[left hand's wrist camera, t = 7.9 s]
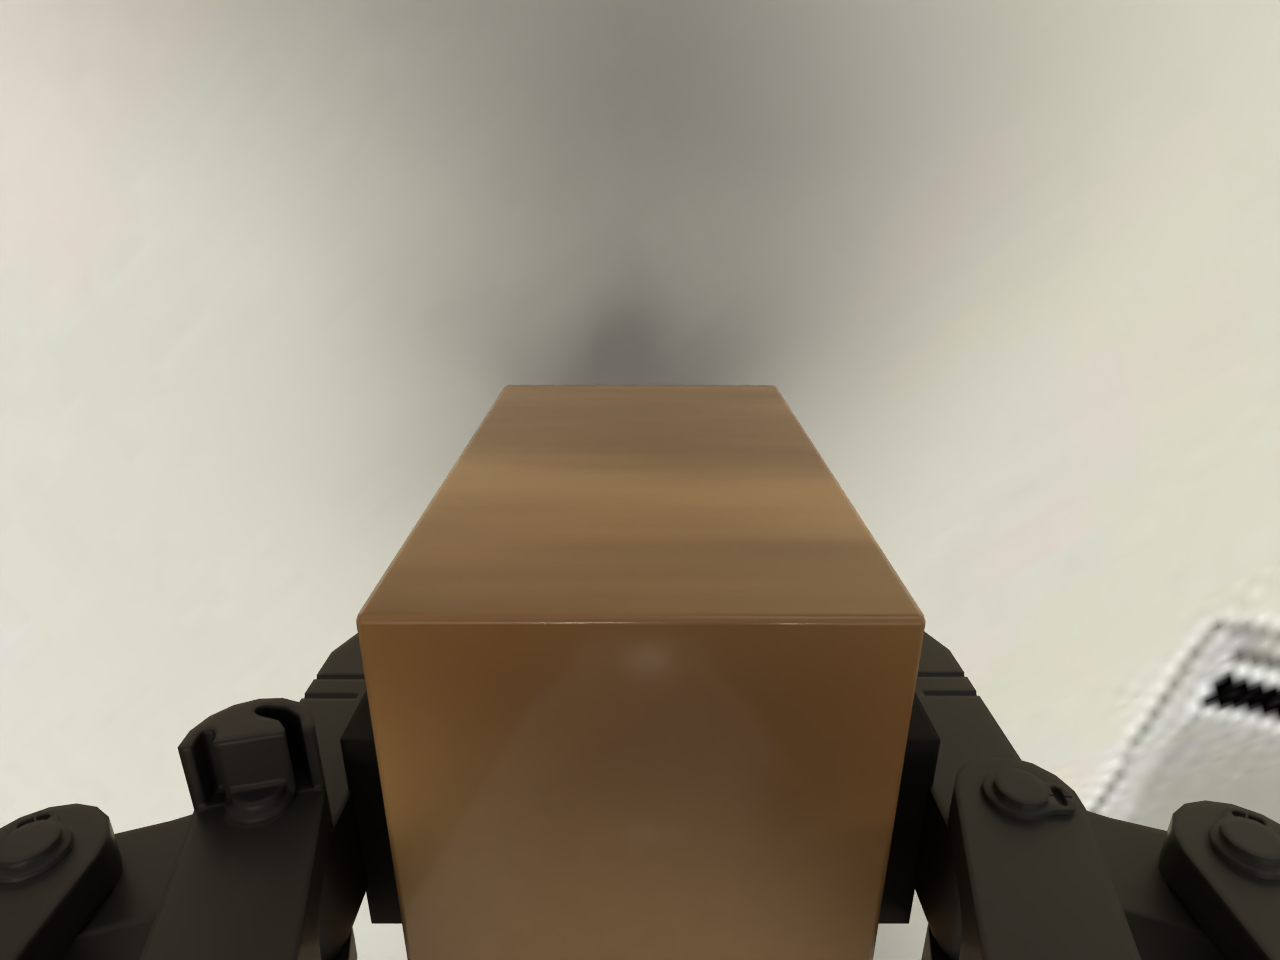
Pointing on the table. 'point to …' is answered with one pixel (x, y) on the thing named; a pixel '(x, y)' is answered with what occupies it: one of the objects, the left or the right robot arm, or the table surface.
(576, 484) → the bar
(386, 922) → the left robot arm
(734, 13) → the table surface
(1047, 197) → the table surface
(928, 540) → the table surface
